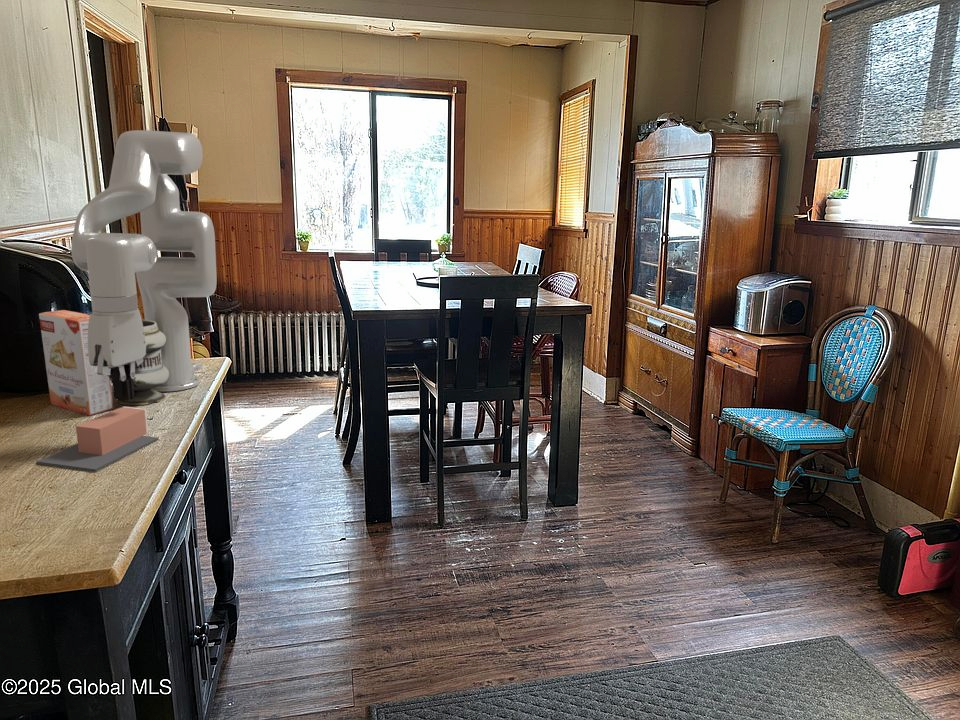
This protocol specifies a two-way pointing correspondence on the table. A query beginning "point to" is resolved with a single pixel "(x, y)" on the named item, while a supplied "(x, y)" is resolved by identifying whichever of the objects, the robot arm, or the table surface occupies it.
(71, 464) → the mat
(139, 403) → the apothecary jar
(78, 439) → the salmon pink block
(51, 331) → the cracker box
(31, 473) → the table surface
